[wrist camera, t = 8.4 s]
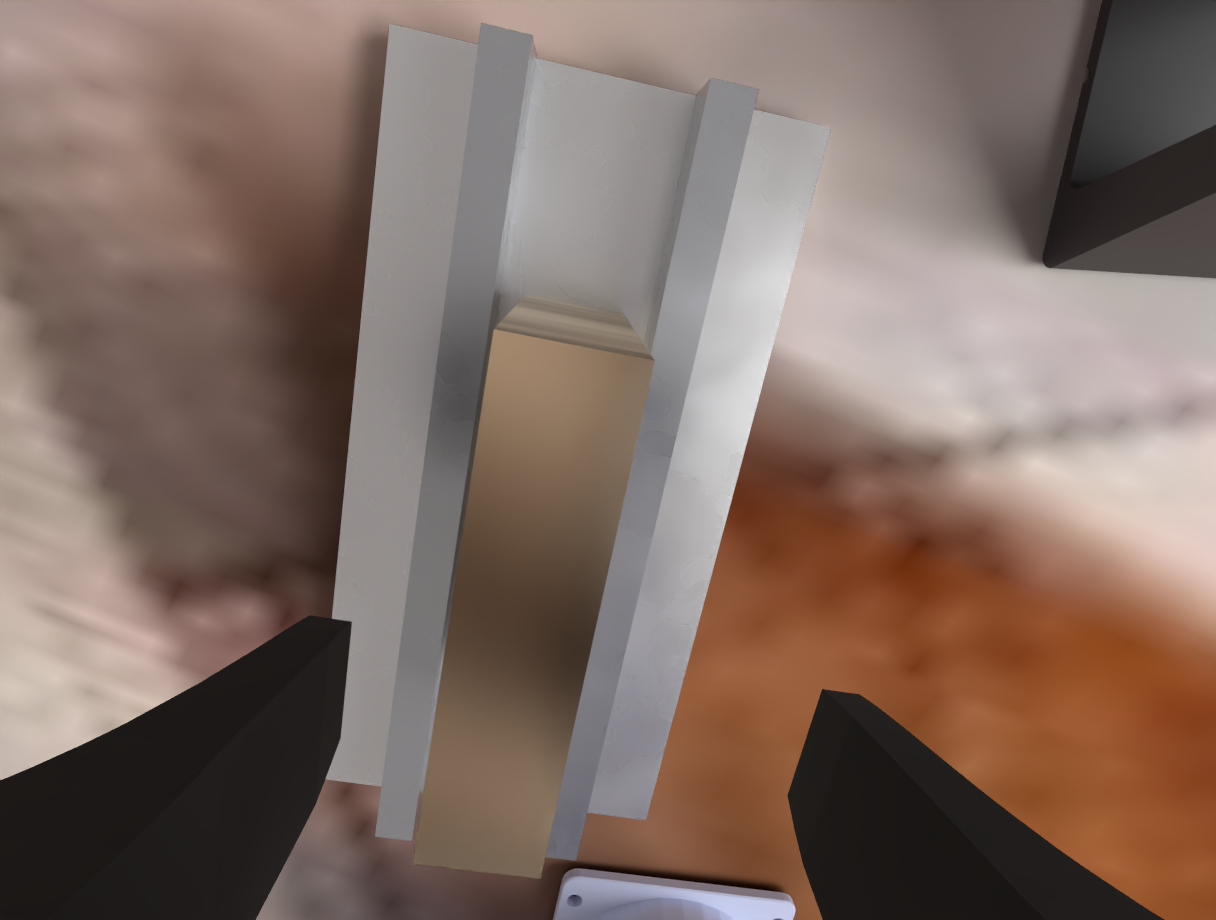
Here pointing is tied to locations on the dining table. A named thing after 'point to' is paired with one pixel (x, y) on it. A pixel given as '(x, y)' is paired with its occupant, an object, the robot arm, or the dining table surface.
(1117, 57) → the phone stand
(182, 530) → the dining table surface
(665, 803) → the dining table surface
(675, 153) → the track
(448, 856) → the door panel
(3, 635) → the dining table surface
